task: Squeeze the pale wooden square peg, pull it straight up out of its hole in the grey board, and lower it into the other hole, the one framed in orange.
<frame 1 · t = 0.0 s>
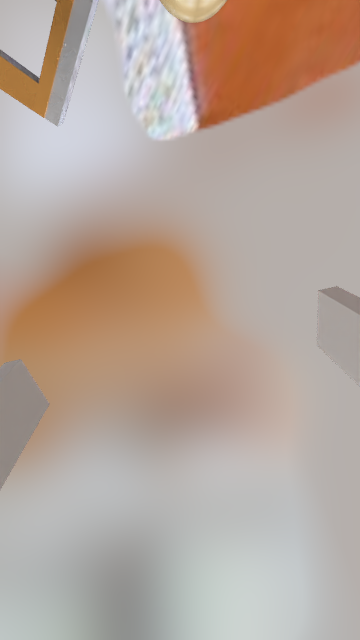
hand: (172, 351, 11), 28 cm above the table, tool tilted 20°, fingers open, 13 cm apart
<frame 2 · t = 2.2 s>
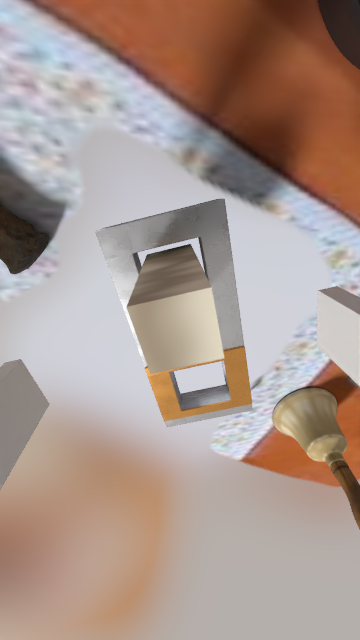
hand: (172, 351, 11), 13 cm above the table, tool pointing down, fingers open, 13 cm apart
peg: (173, 270, 23), resting in grey board
grey board: (187, 326, 25), on the table
hand bell: (302, 410, 32), on the table
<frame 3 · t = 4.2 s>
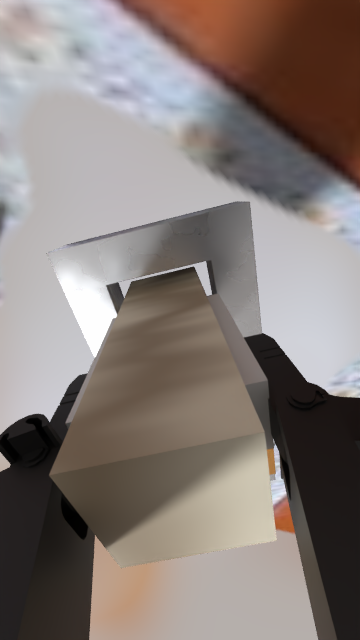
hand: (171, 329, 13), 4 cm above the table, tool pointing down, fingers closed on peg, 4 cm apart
peg: (170, 303, 16), resting in grey board, touching gripper
grey board: (189, 374, 19), on the table
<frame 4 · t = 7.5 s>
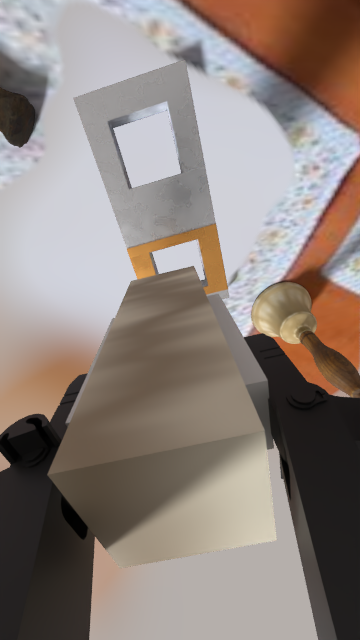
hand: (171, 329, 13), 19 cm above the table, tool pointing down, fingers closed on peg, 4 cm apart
peg: (170, 302, 16), point 16 cm above the table, touching gripper
grey board: (165, 213, 28), on the table
hand bell: (280, 309, 34), on the table
when the fingers open (5 cm above the table, at t = 10.8 s): peg drops 1 cm, resting in grey board.
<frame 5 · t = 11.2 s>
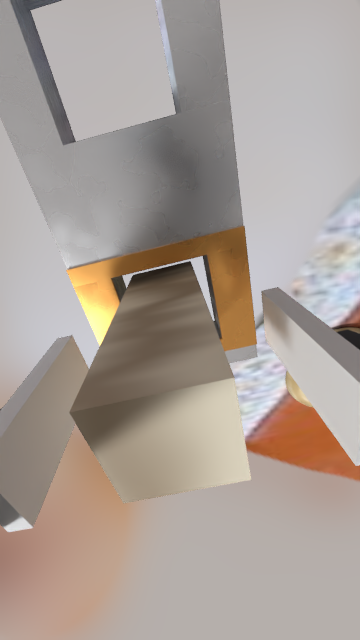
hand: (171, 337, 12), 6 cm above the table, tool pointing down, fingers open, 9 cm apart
peg: (168, 295, 17), resting in grey board
grey board: (145, 204, 15), on the table
hand bell: (331, 367, 21), on the table
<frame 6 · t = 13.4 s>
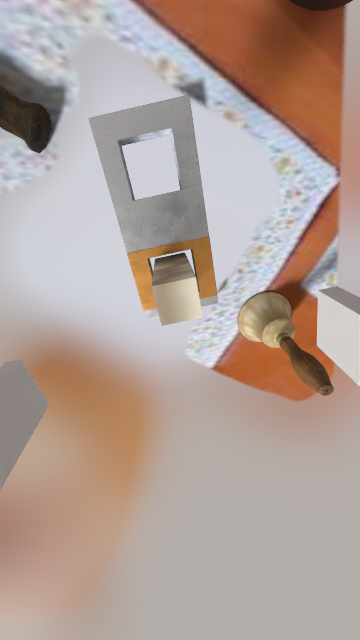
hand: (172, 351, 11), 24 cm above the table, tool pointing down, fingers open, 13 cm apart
peg: (173, 270, 33), resting in grey board
grey board: (163, 224, 31), on the table
hand bell: (263, 316, 37), on the table
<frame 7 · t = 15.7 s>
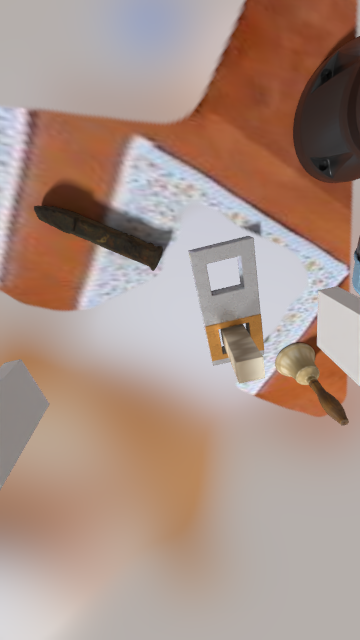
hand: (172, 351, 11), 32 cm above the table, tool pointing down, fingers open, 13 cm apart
peg: (231, 331, 47), resting in grey board
grey board: (227, 304, 45), on the table
hand tool: (103, 236, 39), on the table
hand bell: (294, 359, 51), on the table
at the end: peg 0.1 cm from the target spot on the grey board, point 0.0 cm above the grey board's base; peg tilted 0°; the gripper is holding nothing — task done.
